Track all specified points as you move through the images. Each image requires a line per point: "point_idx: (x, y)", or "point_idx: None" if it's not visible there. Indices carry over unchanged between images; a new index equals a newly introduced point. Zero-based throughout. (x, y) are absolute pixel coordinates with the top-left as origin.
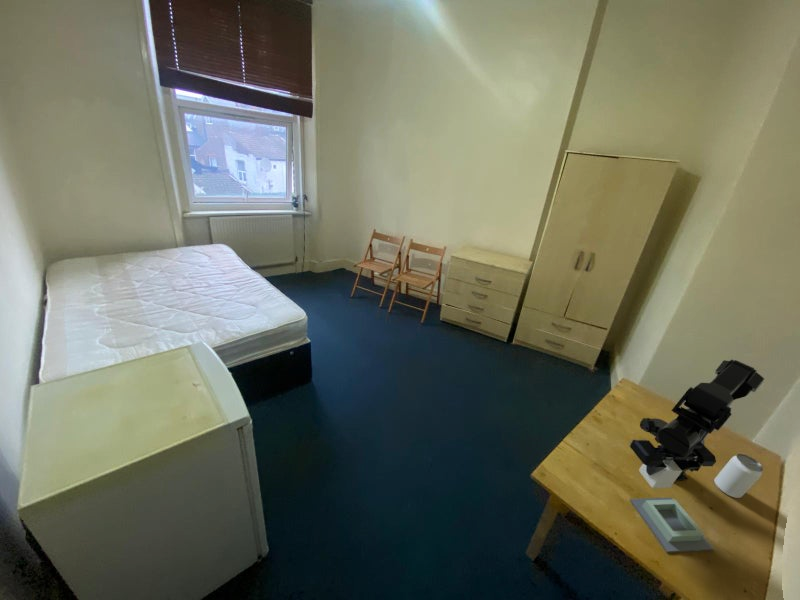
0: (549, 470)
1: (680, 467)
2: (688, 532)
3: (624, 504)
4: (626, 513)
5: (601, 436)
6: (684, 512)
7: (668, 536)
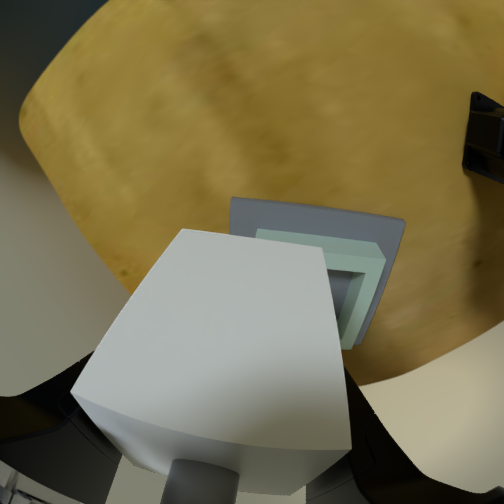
0: (37, 95)
1: (310, 488)
2: None
3: (200, 208)
4: None
5: None
6: (366, 300)
7: None
